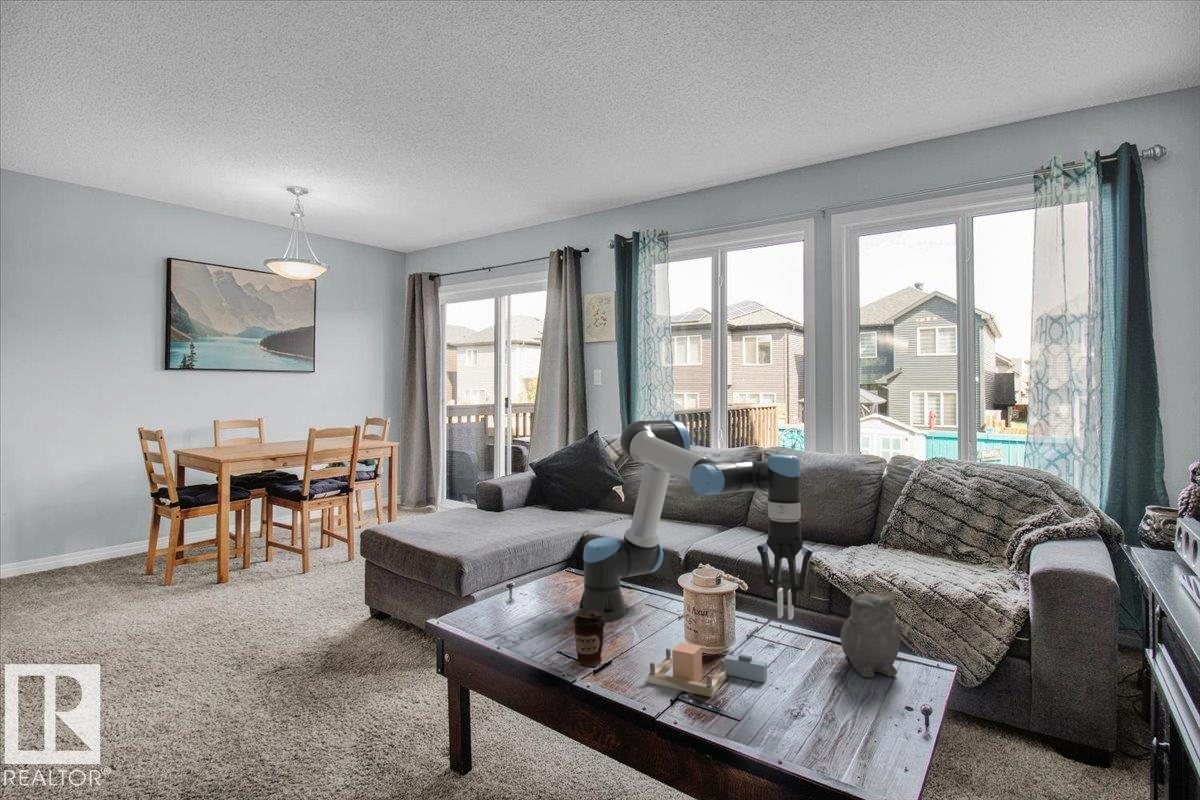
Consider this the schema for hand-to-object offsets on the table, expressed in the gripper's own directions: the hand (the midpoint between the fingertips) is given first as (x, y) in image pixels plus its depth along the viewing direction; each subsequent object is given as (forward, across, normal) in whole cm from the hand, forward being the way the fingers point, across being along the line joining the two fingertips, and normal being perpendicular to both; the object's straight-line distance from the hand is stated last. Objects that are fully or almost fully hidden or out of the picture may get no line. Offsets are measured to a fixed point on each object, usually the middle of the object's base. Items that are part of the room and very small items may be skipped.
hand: (785, 617), depth 146 cm
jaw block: (+17, -22, -9) cm, 29 cm away
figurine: (+17, +16, +20) cm, 31 cm away
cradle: (+16, -22, -8) cm, 29 cm away
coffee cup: (+17, -48, -11) cm, 52 cm away
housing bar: (+16, -10, 0) cm, 19 cm away
